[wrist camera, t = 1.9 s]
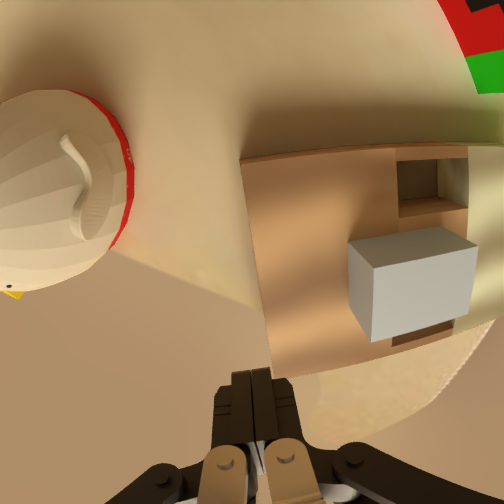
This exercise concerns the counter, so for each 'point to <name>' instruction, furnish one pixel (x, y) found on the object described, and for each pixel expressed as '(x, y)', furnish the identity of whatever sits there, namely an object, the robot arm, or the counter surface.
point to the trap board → (361, 227)
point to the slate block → (410, 280)
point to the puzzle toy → (480, 39)
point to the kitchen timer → (59, 187)
